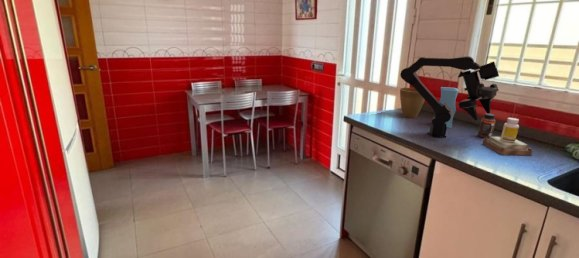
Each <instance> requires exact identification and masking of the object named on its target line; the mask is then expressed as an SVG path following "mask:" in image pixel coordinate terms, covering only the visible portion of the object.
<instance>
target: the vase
mask: <svg viewBox="0 0 579 258" xmlns="http://www.w3.org/2000/svg"><path fill="white" fill-rule="evenodd" d="M459 91H460V90H459V89H458V88H456V87H444V86H441V87H440V99H439V100H438V101H439V102H440V103H442V104H443V105H444V104H445V103H446V104H447V105H448V107H449V108H451V111H452V116H451V119H450V120H449V121H448V122H445V124H447V125H446V127H447V129H449V128H451V129H452V128H453V118H454V116H455V113H456V112H457V109H456V99H457V96H458V93H459Z"/></svg>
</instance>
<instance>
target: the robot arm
mask: <svg viewBox="0 0 579 258" xmlns="http://www.w3.org/2000/svg"><path fill="white" fill-rule="evenodd" d="M422 67H443V68H444V67H445V68H454V69H457V70H460V71H459V74H458V76H457V78H462V79H463V81H464V85H465V88H464V91H467V95H468V96H467V97H466V99H463V100H461V101H459V102H458V108H459V109H462V110H464V111H465V113H467V114H468V115H470V116H471V118H472V119H473V120H474V121H477V120H479V119H478V117H479V116H478V113H477V107H478V103H477V102H478V101H479V102H480V104H481V105H482V107H483V109H484V111H485V112H486V113H487V114H491V105H492V101H493V99H494V98H495V97H496V96H497V92H499V88H498V85H497V84H496V83H492V84H490V85H488V86H485V85H484V83H483V82H481V81H480V80H482V79H483V80H484V81H487V80H488V81H489V80H491V79H495V78H498V77H500V74H499V70H498V67H497V65H496V63H495V61H493V60H492V61H491V62H488V63H486V64H482V65H481V64H478V63H477V62H475V59H474V58H473V56H469V55H467V56H458V57H452V58H450V57H448V58H447V57H445V58H444V57H425V56H422V57H419V58H418V59H417V60H416V61H415V62H414V63H412V64H411V65H410V66H408V67H405V68H403V69H402V70H401V71H400V75H399V76H400V78H401V79H402V80H403V81H405V82H406V83H407V84H409V85H410V86H412V88H415V89H416V90H417V91H418V93H419V94H420V95H421V96H422V97H423V98H424V99H425V100H424V101H425V102H426V103H427V104H428V105H429V106H430V108H432V110H433V113H434V116H433V118H432V119H431V122H430V126H429V131H427V134H429V135H430V136H431V137H432V138H446V137H447V136H446V134H447V129H448V127H446V125H447V124H445V122H448V121H449V120H450V119H451V116H452V111H451V108H449V107H448V105H447V104H446V103H445V104H444V105H443V104H442V103H440V102H439V101H440V100H439V99H437V98H436V96H435V95H434V94H433V93H432V92H431V91H430V90H429V89H428V88H427V86H426V85H425V84H424V83H423V81H421V79H420V78H419V75H418V74H417V72H418V71H419V70H420V69H421V68H422ZM472 70H473V71H472ZM479 77H480V78H479Z"/></svg>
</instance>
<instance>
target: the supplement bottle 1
mask: <svg viewBox="0 0 579 258" xmlns="http://www.w3.org/2000/svg"><path fill="white" fill-rule="evenodd" d="M495 125H496V119H495V114H493V113H489V114H487V112H486V113H485V114H484V117H482V118H481V120H480V123H479V128H478V133H477V135H478V137H480V138H484V139H485V138H488V139H489V137H493V134H494V130H495Z"/></svg>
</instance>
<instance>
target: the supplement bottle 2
mask: <svg viewBox="0 0 579 258" xmlns="http://www.w3.org/2000/svg"><path fill="white" fill-rule="evenodd" d="M519 121H520V119H519V118H515V117H507V119H506V122H505V123H504V124H503V127H502V131H501V136H500V137H501V140H503V141H506V142H515V140H517V135H518V132H519V129H520V125H519Z"/></svg>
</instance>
